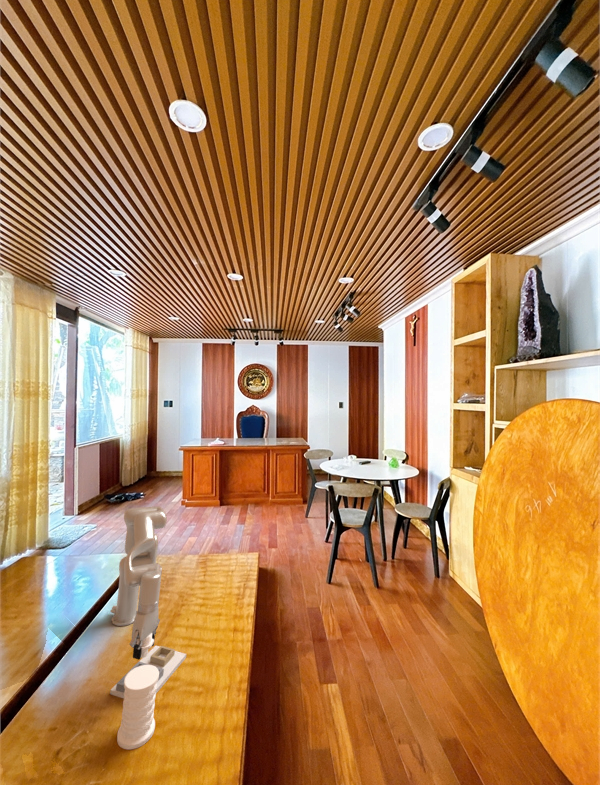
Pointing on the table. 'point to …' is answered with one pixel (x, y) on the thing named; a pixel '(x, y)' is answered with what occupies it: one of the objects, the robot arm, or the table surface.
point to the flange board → (161, 659)
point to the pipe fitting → (146, 645)
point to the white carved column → (138, 707)
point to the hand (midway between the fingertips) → (143, 651)
